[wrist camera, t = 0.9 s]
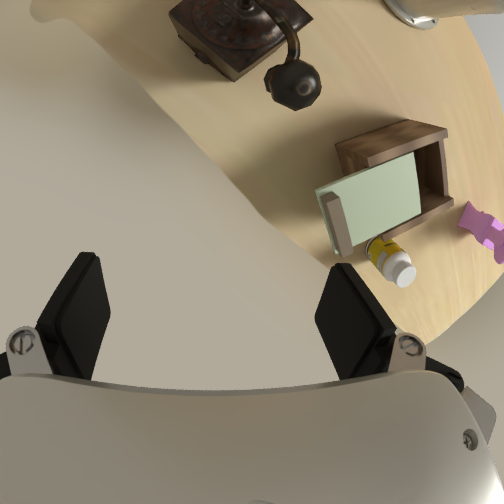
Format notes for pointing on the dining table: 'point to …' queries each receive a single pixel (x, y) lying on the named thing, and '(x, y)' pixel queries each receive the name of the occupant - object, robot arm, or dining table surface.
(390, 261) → the supplement bottle
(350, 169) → the box
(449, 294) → the dining table surface
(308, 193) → the dining table surface
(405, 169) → the lid
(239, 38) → the brown manual coffee grinder
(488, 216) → the toy chair
